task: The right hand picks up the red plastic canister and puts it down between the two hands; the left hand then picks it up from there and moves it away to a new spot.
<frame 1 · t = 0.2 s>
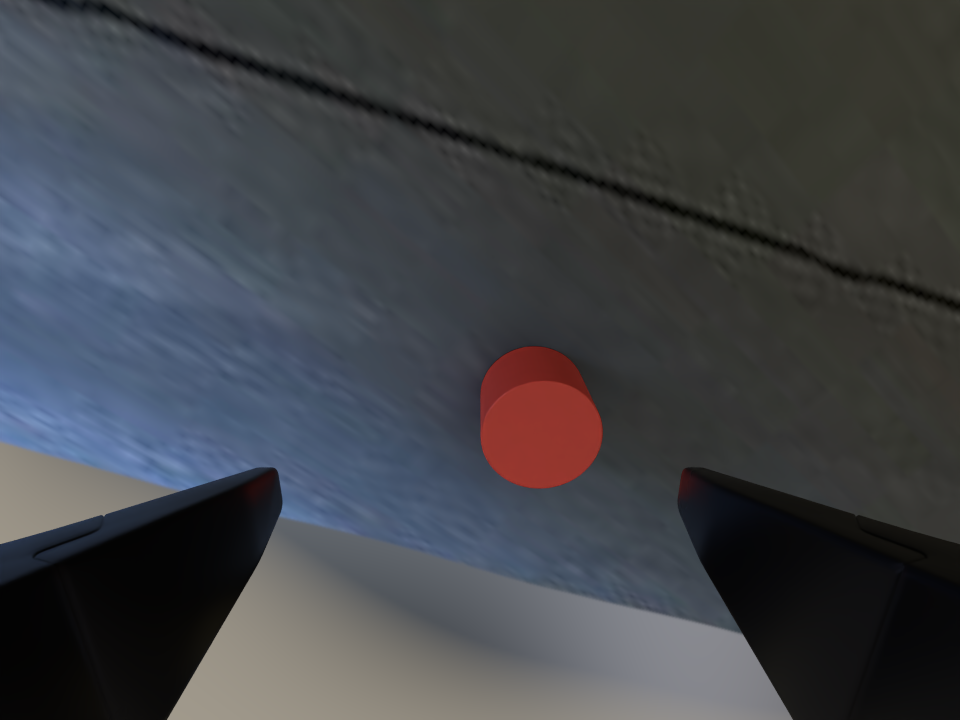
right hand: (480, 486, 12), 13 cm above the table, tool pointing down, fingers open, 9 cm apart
canister: (532, 394, 26), on the table
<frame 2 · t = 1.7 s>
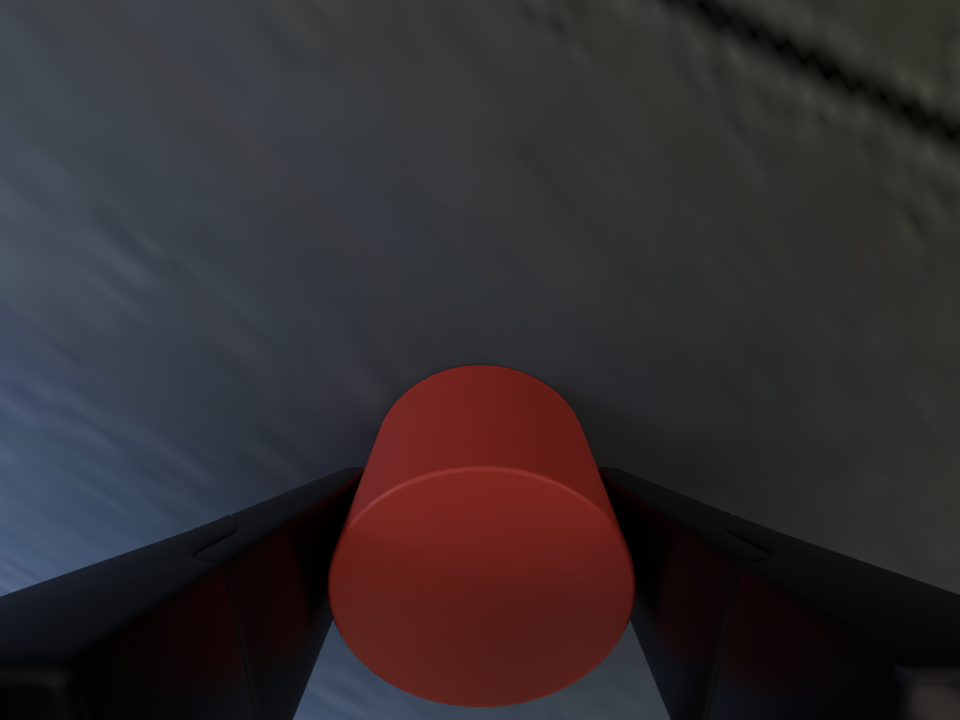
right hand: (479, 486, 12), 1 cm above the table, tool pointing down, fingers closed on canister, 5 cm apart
canister: (481, 462, 13), on the table, touching right hand
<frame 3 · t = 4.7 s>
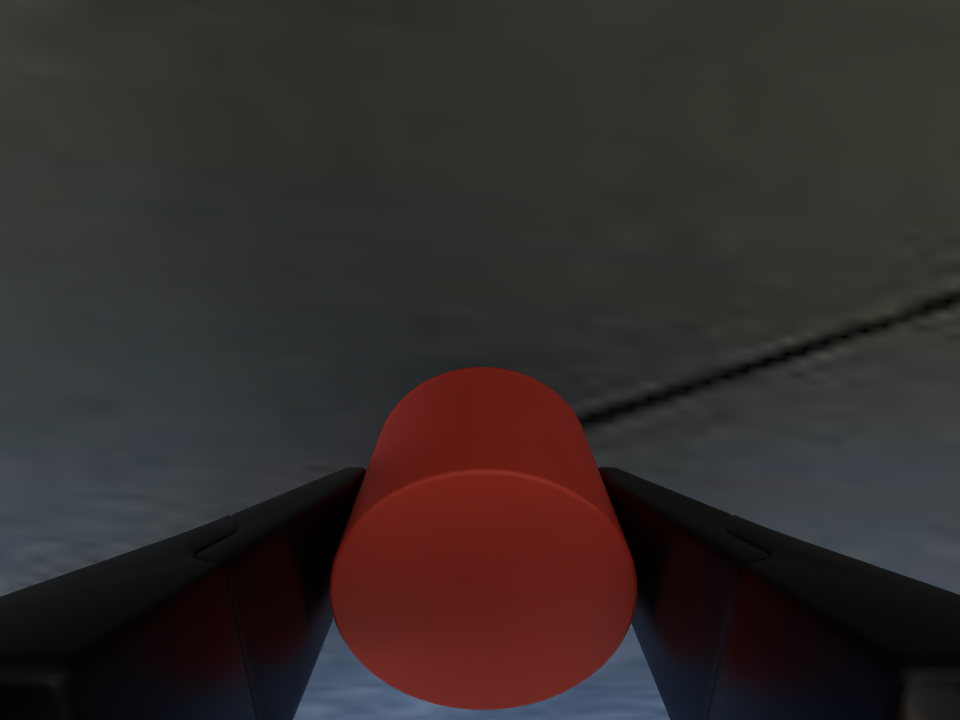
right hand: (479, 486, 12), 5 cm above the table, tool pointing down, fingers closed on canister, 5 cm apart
canister: (482, 463, 13), point 4 cm above the table, touching right hand
when the right hand's fingers open (2 cm above the table, at t = 8.1 s): canister stays where it is, on the table.
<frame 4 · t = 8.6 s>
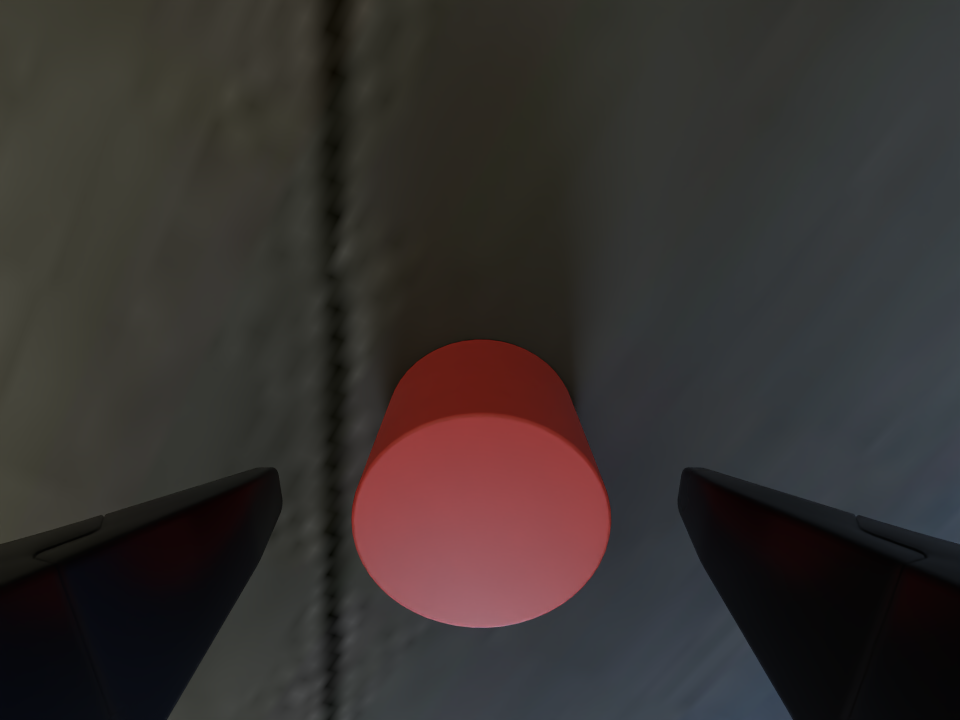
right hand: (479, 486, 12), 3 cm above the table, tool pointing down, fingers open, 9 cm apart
canister: (480, 427, 14), on the table
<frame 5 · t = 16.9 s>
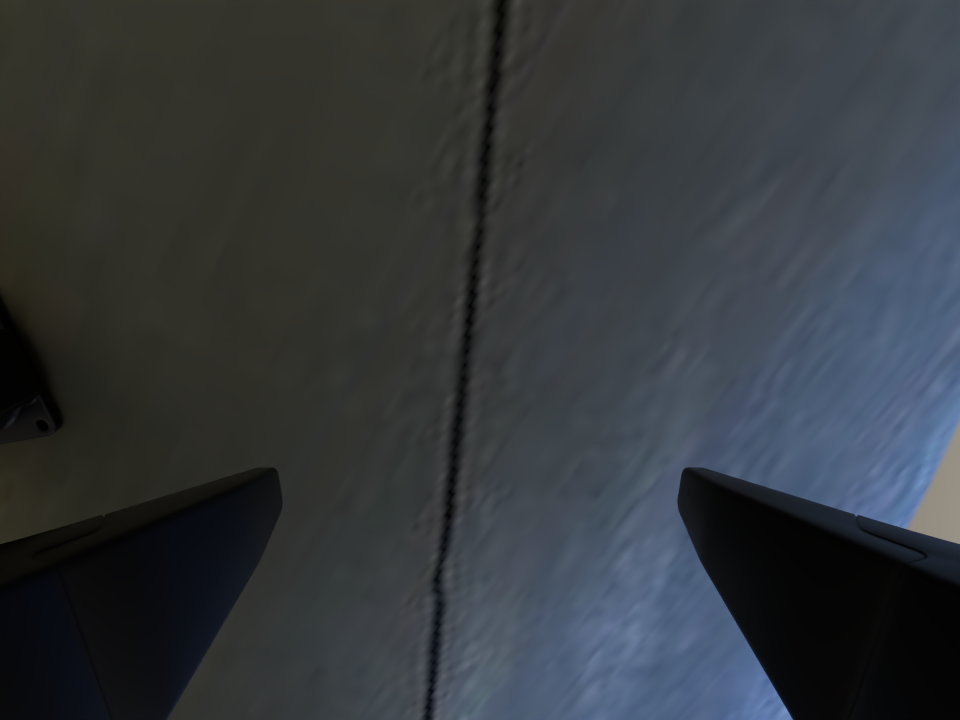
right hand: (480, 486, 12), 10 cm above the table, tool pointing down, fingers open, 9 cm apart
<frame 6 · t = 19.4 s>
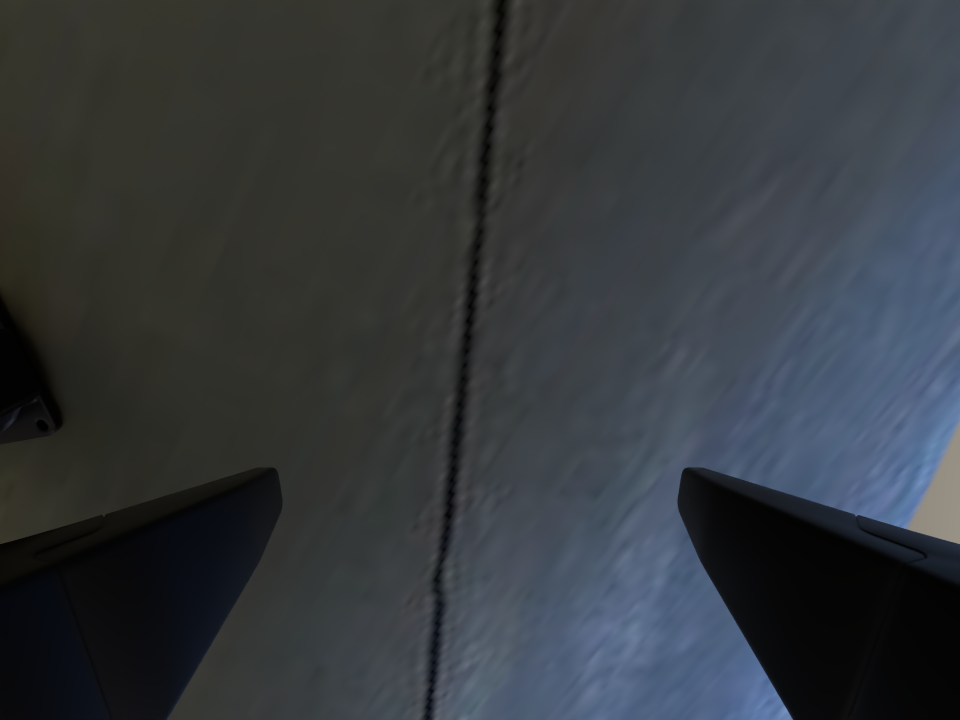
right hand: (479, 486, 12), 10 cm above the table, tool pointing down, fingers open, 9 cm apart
when the left hand's fingers open (0 cm above the table, at t = 21.9 s): canister stays where it is, on the table.
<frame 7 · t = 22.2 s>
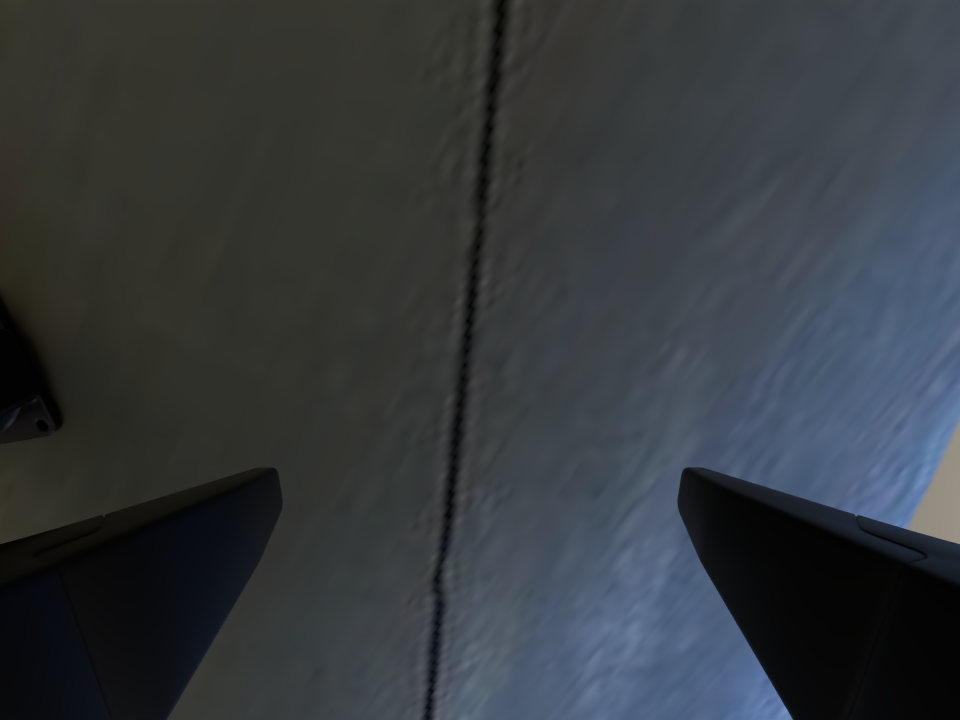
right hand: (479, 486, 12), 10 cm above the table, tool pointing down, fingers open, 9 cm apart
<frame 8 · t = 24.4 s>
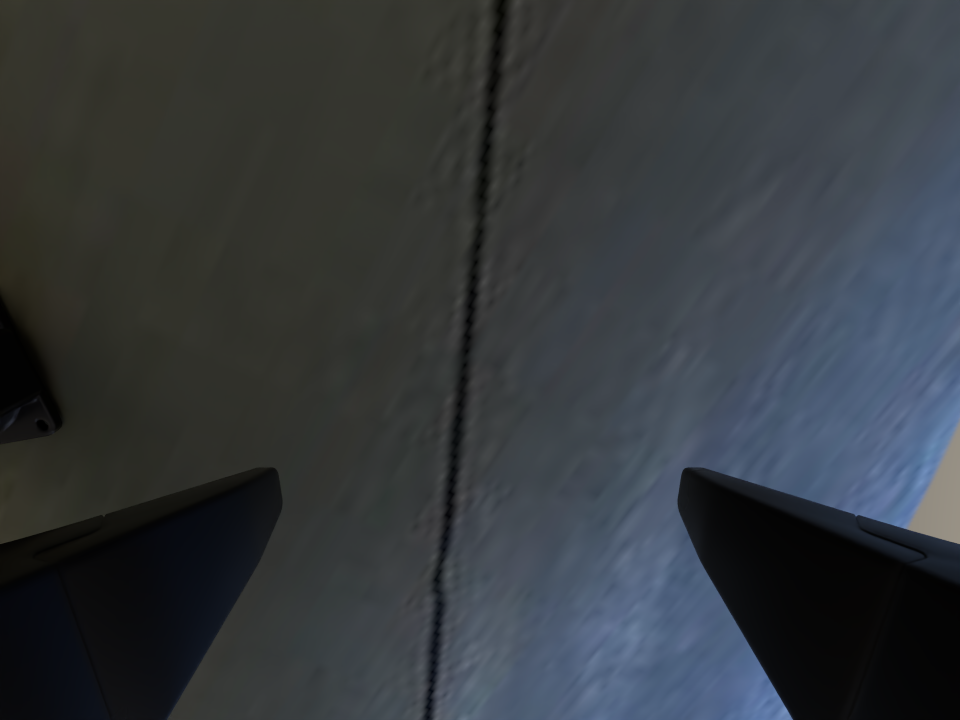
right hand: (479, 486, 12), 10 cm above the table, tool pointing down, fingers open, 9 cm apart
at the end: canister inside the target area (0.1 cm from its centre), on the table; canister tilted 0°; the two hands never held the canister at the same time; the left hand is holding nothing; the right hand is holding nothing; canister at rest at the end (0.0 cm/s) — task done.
